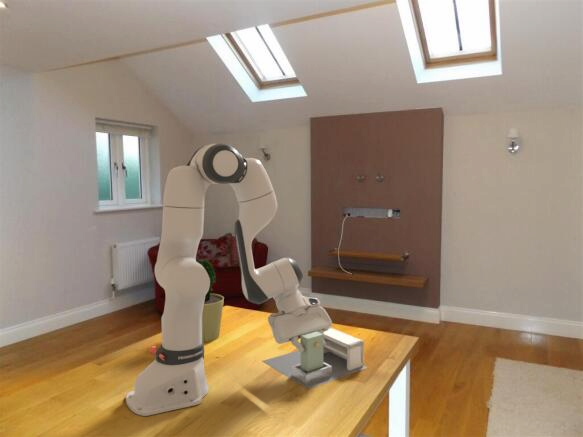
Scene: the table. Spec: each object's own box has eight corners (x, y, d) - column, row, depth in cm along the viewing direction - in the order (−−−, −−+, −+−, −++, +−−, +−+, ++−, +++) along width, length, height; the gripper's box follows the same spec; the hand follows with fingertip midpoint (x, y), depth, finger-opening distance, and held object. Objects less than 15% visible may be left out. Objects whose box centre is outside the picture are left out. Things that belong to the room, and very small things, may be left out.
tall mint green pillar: (310, 372, 134) (310, 339, 133) (300, 367, 138) (300, 335, 137) (325, 367, 138) (325, 335, 137) (315, 362, 141) (316, 331, 140)
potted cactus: (175, 341, 169) (173, 261, 166) (195, 328, 184) (194, 254, 180) (213, 346, 164) (211, 264, 161) (231, 332, 179) (230, 256, 176)
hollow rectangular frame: (305, 385, 133) (305, 375, 132) (291, 376, 138) (291, 366, 138) (331, 375, 139) (332, 366, 138) (316, 367, 144) (316, 358, 144)
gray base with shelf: (308, 393, 130) (308, 362, 129) (262, 364, 149) (261, 337, 148) (367, 371, 144) (368, 343, 144) (318, 347, 164) (318, 322, 163)
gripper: (269, 309, 136) (289, 352, 129) (322, 298, 148) (343, 336, 141) (261, 320, 140) (280, 362, 133) (313, 308, 152) (333, 345, 145)
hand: (313, 348), depth 137 cm, fingers closed on tall mint green pillar, 6 cm apart
